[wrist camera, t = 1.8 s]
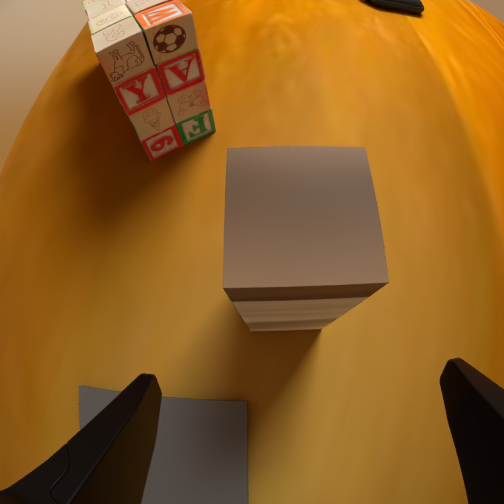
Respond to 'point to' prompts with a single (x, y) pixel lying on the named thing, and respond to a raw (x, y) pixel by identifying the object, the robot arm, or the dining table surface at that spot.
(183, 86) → the stack of blocks
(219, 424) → the dark gray tapered panel
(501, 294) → the dining table surface
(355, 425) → the dining table surface
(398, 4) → the carrying case or bag
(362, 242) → the tall pale block
